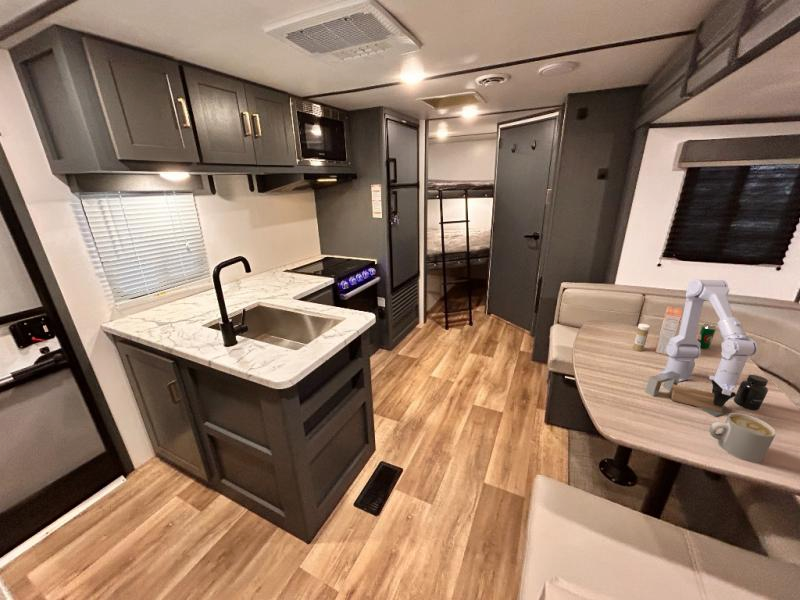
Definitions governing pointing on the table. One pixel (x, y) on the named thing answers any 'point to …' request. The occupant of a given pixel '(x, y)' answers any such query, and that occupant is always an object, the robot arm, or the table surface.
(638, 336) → the sprinkles bottle
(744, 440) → the coffee mug
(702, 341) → the soda can
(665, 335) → the cracker box
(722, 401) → the robot arm
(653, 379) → the housing
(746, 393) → the supplement bottle
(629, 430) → the table surface
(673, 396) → the wooden block
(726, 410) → the pad
